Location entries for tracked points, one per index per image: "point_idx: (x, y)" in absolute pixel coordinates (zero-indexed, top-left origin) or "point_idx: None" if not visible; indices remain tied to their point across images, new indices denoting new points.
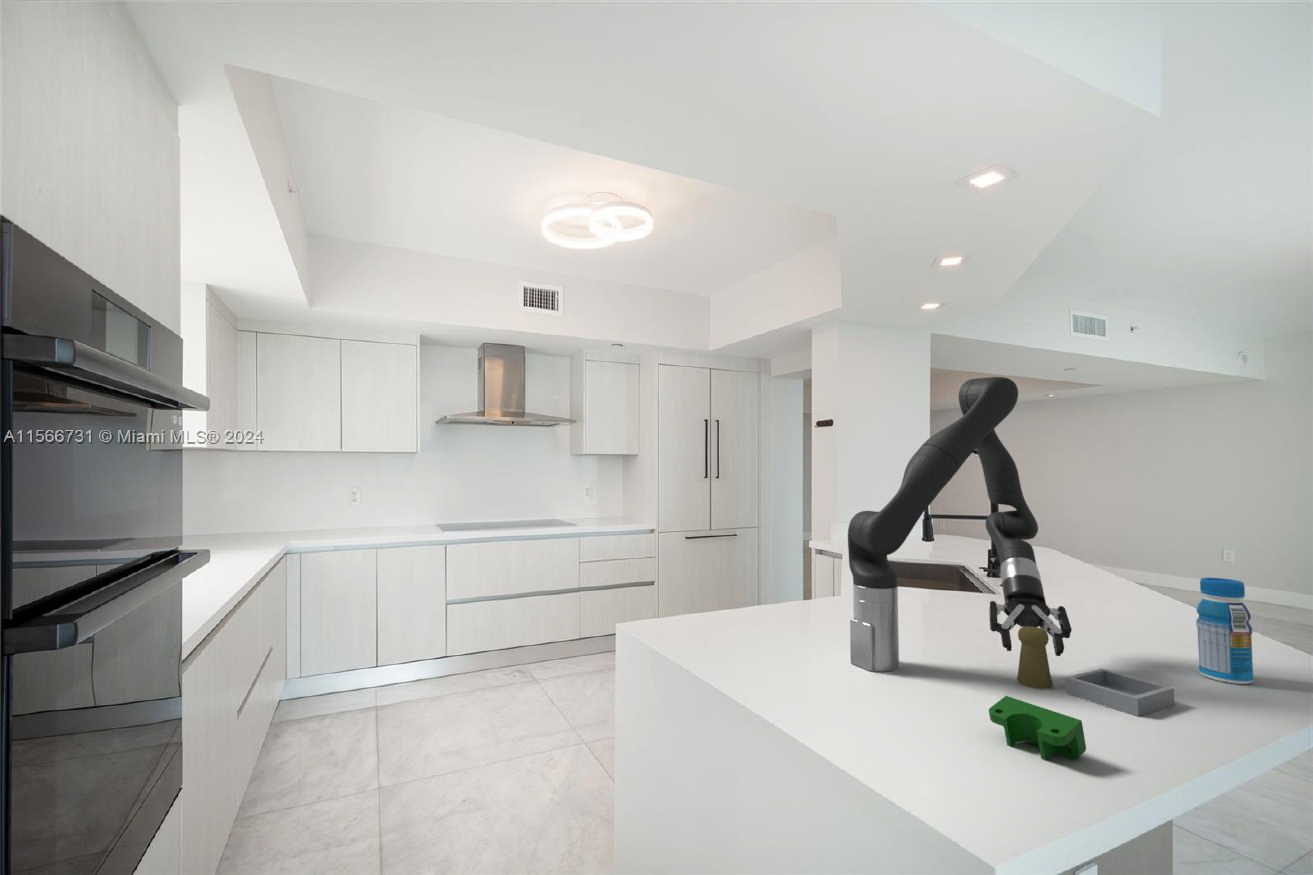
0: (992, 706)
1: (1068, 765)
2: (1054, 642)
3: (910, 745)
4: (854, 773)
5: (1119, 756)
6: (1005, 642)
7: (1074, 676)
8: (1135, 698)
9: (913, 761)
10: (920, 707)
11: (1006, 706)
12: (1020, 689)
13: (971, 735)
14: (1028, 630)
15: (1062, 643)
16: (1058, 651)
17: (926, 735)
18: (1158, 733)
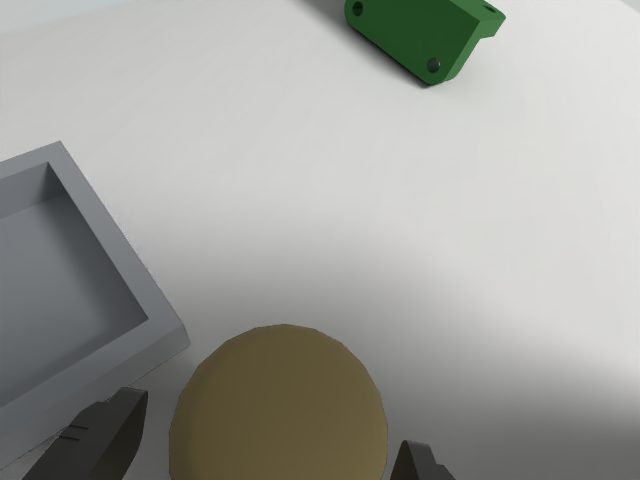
0: (500, 18)
1: None
2: (105, 477)
3: (584, 51)
4: (623, 3)
5: (280, 25)
6: (441, 472)
7: (128, 346)
8: (62, 146)
9: (571, 20)
10: (605, 178)
11: (478, 7)
12: None
13: (504, 78)
14: (341, 362)
15: (66, 436)
16: (141, 390)
17: (570, 76)
18: (118, 96)
